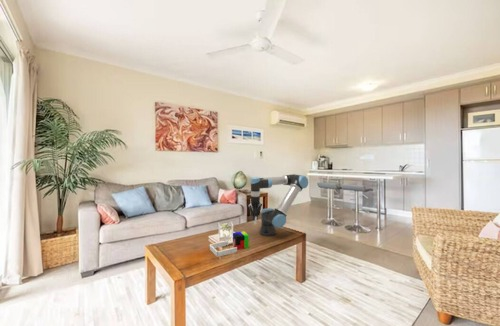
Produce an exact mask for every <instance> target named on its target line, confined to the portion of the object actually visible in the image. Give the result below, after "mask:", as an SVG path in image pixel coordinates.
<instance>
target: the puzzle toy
mask: <svg viewBox="0 0 500 326" xmlns="http://www.w3.org/2000/svg"><path fill="white" fill-rule="evenodd" d="M249 241H250V239H249V234H248V233H247V232H246V231H237V232H232V245H233V248H235V247H237V251H238V250H244V249H249V247H250V246H249Z"/></svg>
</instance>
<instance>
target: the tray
mask: <svg viewBox="0 0 500 326" xmlns="http://www.w3.org/2000/svg"><path fill="white" fill-rule="evenodd" d="M226 245H227V246H229V240H223V241H219V242H215V243H210V244H209V245H208V249H209V251H211V252H212V253H213V254H214V256H215V257H216V258H219V257H223V256H227V255H231V254H235V253H237V252H238V250H237V247H231V248H227V249H222V250H217V249H218V248H221V247H227V246H226Z"/></svg>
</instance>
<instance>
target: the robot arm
mask: <svg viewBox="0 0 500 326" xmlns="http://www.w3.org/2000/svg"><path fill="white" fill-rule="evenodd" d="M278 185H280V186H281V185H282V186H290V188H289V189H288V191H287V193H286V194H285V196H284V197H283V199H282V201H281V202H280V204H279V205H278V207H276V208H272V207H270V208H267V207H266V208H263V209H262V206H263V203H261V202H260V201H261V200H260V198H261V189H270V188H272V187H273V186H278ZM308 186H309V179H308V177H307V175H303V174H296V173H294V174H287V175H285V174H284V175H282V176H272V177H271V176H270V177H258V176H257V177H251V179H250V204H248V205H247V207H248V209H249V213H250V216H251V217H252V221H253V225H258V224H257V223H258V217H259V216H260V215H261V216H260V218H261V219H260V220H261V225H260V228H259V235H261V236H264V237H272V236H275V235H276V232H277V231H276V228H282V227H284V226H285V224H286V223H287V213H288V211H289V209H291V206H292V204H293V202H294V201H295V199H296V198H297V196H298V194H299V193H301V192H302V191H303V189H306V188H307V187H308Z"/></svg>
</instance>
